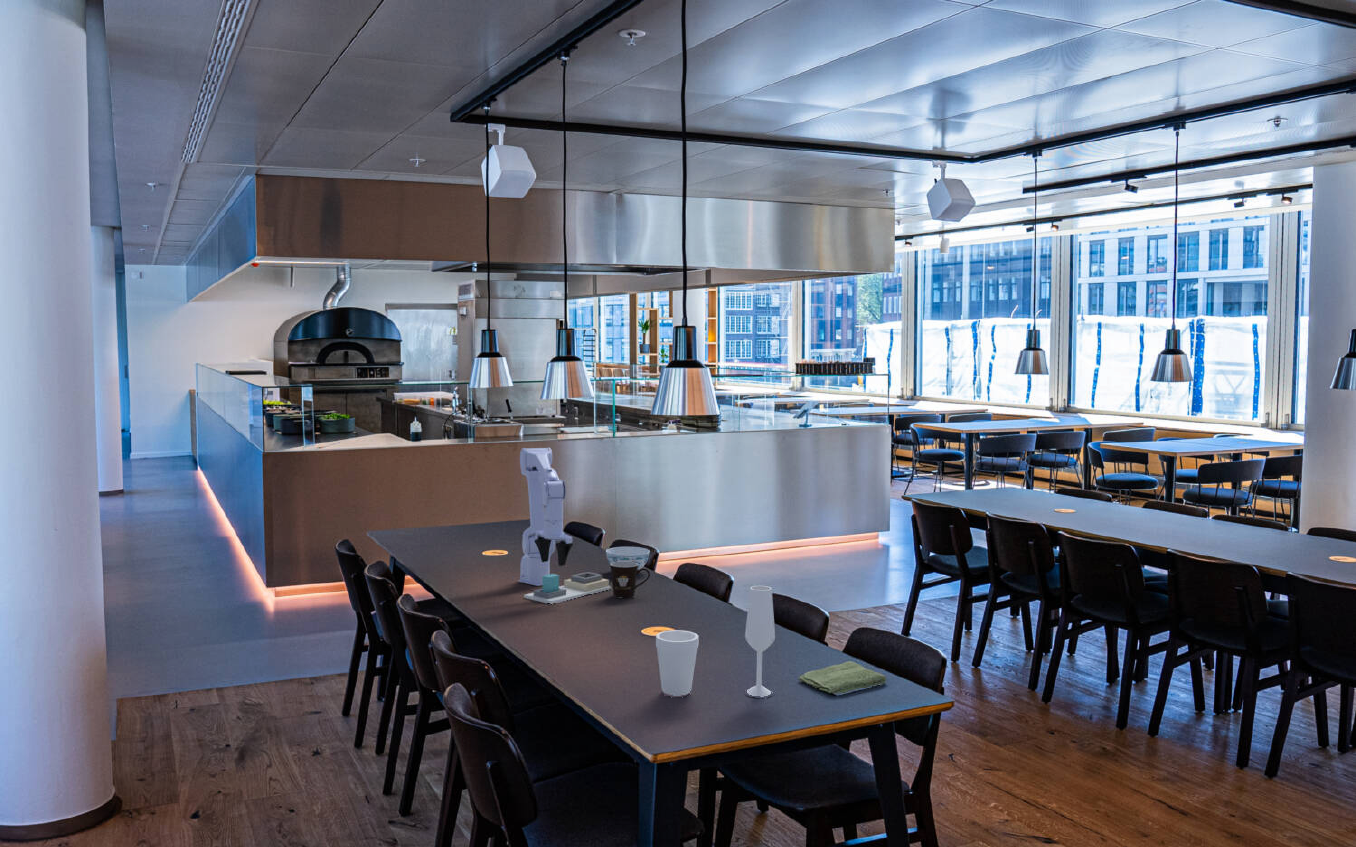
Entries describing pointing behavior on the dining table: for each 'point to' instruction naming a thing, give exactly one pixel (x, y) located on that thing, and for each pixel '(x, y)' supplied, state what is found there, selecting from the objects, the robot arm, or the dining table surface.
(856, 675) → the washcloth
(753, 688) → the champagne flute
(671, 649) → the foam cup
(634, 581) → the coffee mug
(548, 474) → the robot arm
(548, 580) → the plug
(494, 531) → the dining table surface
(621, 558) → the chinaware
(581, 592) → the panel
